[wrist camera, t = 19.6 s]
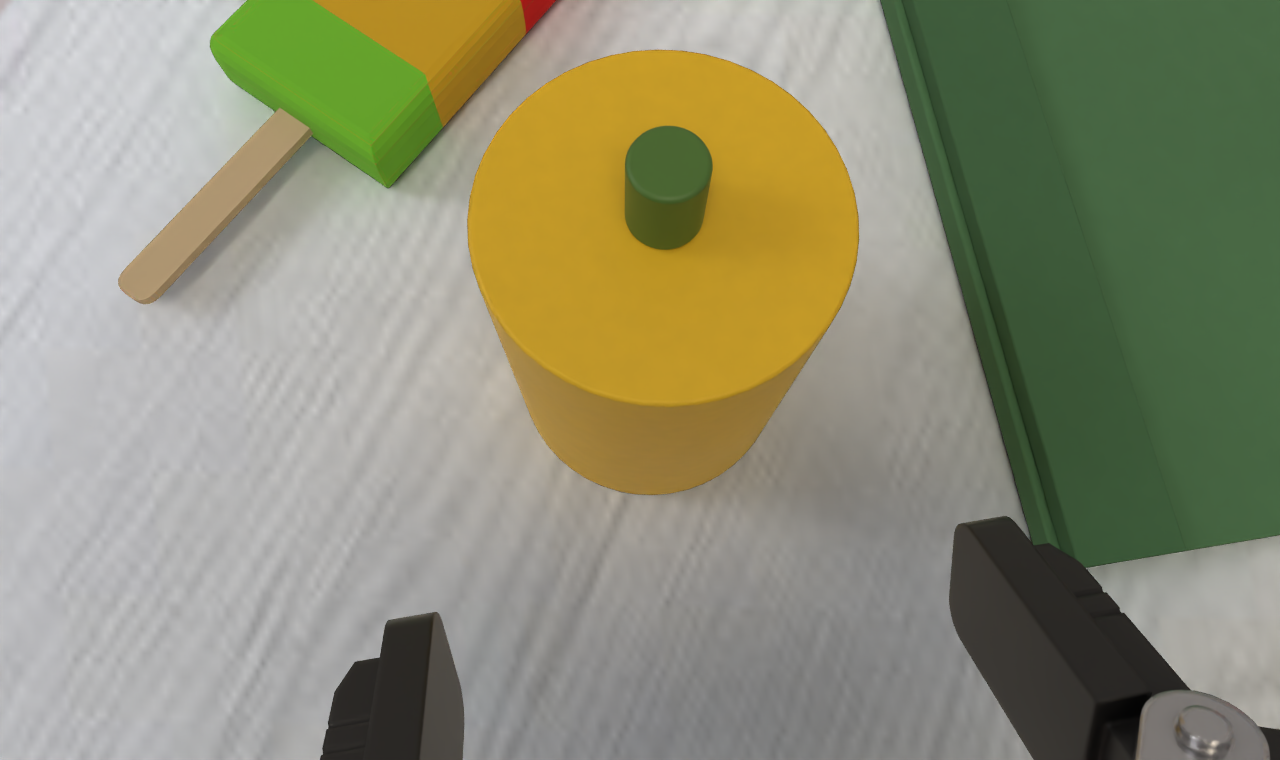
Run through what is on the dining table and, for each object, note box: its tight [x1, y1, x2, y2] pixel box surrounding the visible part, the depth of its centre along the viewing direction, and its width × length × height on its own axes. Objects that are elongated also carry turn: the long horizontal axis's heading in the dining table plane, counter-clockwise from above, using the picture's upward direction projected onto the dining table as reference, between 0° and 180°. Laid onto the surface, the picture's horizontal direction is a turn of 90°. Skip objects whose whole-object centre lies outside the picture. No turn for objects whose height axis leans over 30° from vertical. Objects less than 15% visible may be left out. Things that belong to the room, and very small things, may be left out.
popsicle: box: [118, 0, 556, 304], centre depth 23 cm, size 6×15×2 cm, turn 145°
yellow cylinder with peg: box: [467, 50, 859, 495], centre depth 17 cm, size 6×6×10 cm
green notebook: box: [881, 0, 1280, 568], centre depth 22 cm, size 12×16×1 cm
